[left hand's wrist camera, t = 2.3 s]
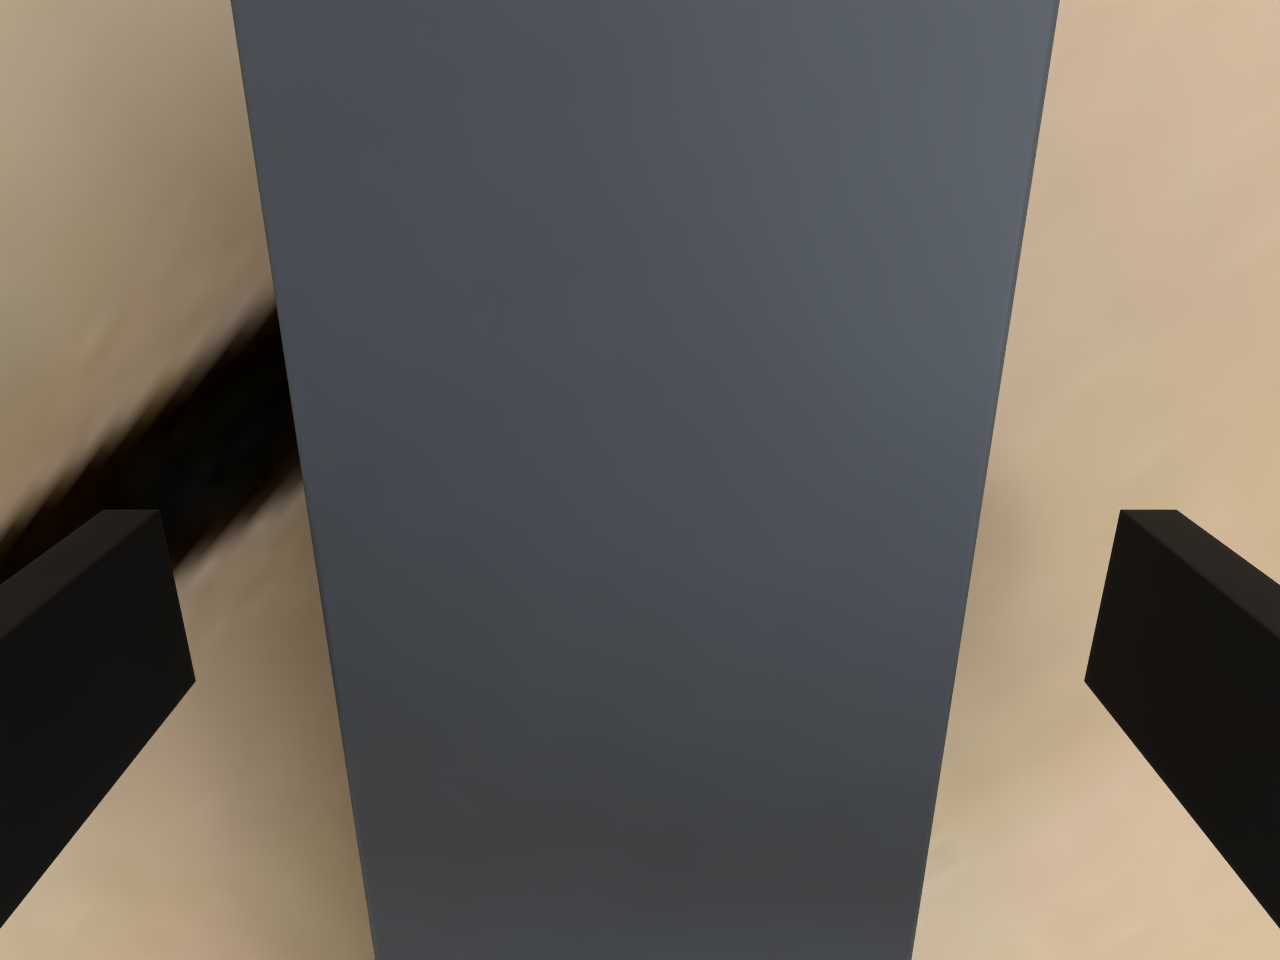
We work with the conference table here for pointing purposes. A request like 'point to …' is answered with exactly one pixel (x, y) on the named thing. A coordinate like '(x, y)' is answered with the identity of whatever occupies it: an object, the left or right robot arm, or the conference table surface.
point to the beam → (644, 445)
